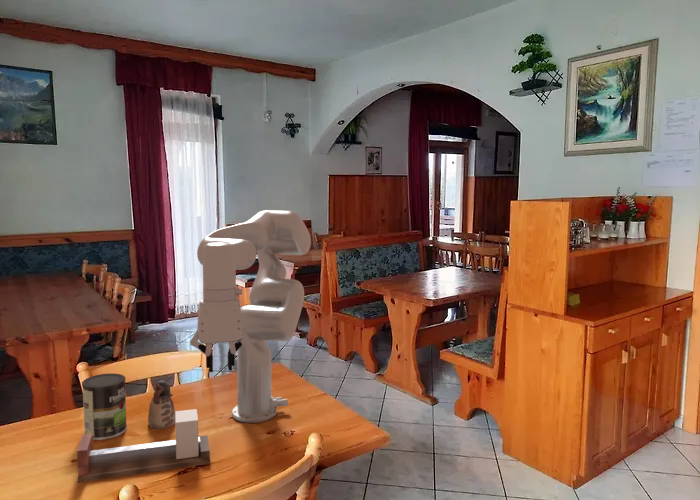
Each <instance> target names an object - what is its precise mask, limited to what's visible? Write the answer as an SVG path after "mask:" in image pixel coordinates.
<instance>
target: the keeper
mask: <svg viewBox="0 0 700 500" xmlns="http://www.w3.org/2000/svg"><path fill="white" fill-rule="evenodd" d="M198 437H199V417H198V409H197V408H194V409H187V410H186V409H185V410H184V409H183V410H175V440H176V459H182V458H189V457H197V456H199V450H198Z"/></svg>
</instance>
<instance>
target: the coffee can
mask: <svg viewBox="0 0 700 500" xmlns="http://www.w3.org/2000/svg"><path fill="white" fill-rule="evenodd" d="M81 387H82V403H83V424H84V425H83V426H84V434H92V440H93V441H106V440H109V439H113V438H117V437H119V436H121V435H123V434H124V433H125V432H126V431H127V430H128V426H127V405H126V404H127V402H126V401H127V400H126V376H125V375H123V374H120V373H114V372H113V373H101V374H95V375H92V376H90V377H88V378H85V379H84V380H83V381H82V382H81Z"/></svg>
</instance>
